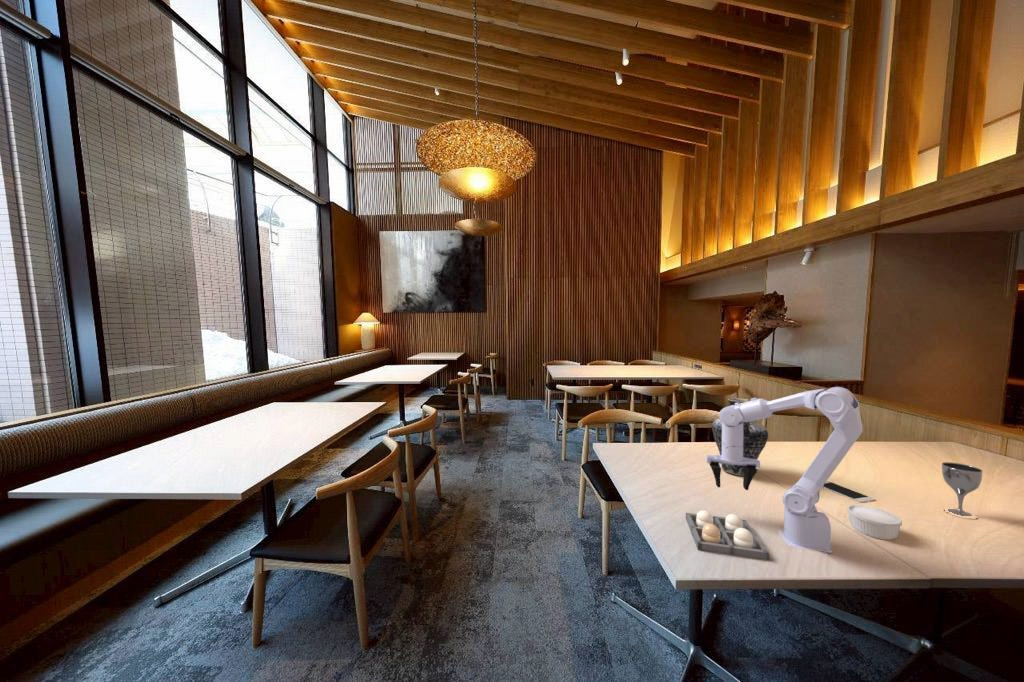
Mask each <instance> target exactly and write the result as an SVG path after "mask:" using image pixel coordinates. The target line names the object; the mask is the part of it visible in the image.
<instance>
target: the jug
mask: <svg viewBox="0 0 1024 682" xmlns="http://www.w3.org/2000/svg"><path fill="white" fill-rule="evenodd" d="M748 401H751V399H748V398H740V397H739V398H737V397H733V398H732V397H731V398H727V403H728V406H731V405H735V403H738V402H739V403H744V402H748ZM711 431H712V433H713V438H714V442H715V444H716V446H717V449H718V451H719V455H722V422H721V420H720V418H717V419H715V420H714V421H713V422H712V424H711ZM768 438H769V431H768V429H767V428H766V427H765V426H764V425H763V424H761V423H759V422H758V421H757V420H755V421H750V422H743V457H745V458H750V459H758V460H759V457H760V455H761V453H762V451H763V450H764V448H765V446H766V444H767V442H768V440H769V439H768ZM721 470H723V471H725V472H726V473H729V474H732V475H735V476H742V477H744V474H743V465H731V464H721Z"/></svg>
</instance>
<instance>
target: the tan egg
mask: <svg viewBox="0 0 1024 682" xmlns="http://www.w3.org/2000/svg"><path fill="white" fill-rule="evenodd" d="M720 536H721V535H720V531H719V529H718V528H717V527H716V526H715V525H713V524H705V525H704V526H703V528H702V542H709V543H716V544H720Z"/></svg>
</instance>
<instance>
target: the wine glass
mask: <svg viewBox="0 0 1024 682" xmlns="http://www.w3.org/2000/svg"><path fill="white" fill-rule="evenodd" d="M941 474H942V477H943V480H944V482H945V483H946V485H948V486H949V488H951V489H952V490H953V492H954V493H955V494H956V496H957V503H958V504H957V505H958V508H953V509H948V511H949V512H952V513H954V514H957V515H961V516H972V515H971V514H972V513H971V512H969V511H966V512H965V511H964V510H963V504H964V499H965V497H966V496H967V495H968V494H971V493H972V492H974V491H976V490H978V489H979V488H980V486H981V483H982V481H983V470H982V469H981V468H979V467H977V466H973V465H969V464H965V463H964V464H963V463H958V462H950V461H946V462H945V461H944V462H942V463H941ZM968 512H969V513H968ZM970 513H971V514H970Z"/></svg>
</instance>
